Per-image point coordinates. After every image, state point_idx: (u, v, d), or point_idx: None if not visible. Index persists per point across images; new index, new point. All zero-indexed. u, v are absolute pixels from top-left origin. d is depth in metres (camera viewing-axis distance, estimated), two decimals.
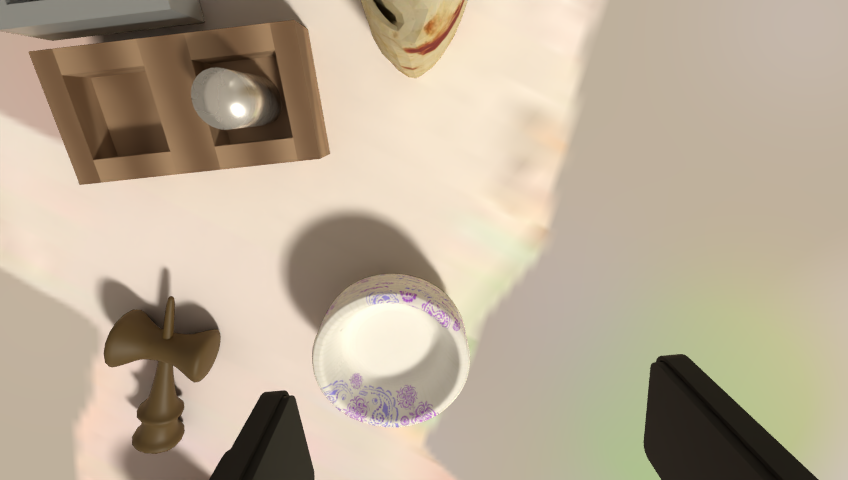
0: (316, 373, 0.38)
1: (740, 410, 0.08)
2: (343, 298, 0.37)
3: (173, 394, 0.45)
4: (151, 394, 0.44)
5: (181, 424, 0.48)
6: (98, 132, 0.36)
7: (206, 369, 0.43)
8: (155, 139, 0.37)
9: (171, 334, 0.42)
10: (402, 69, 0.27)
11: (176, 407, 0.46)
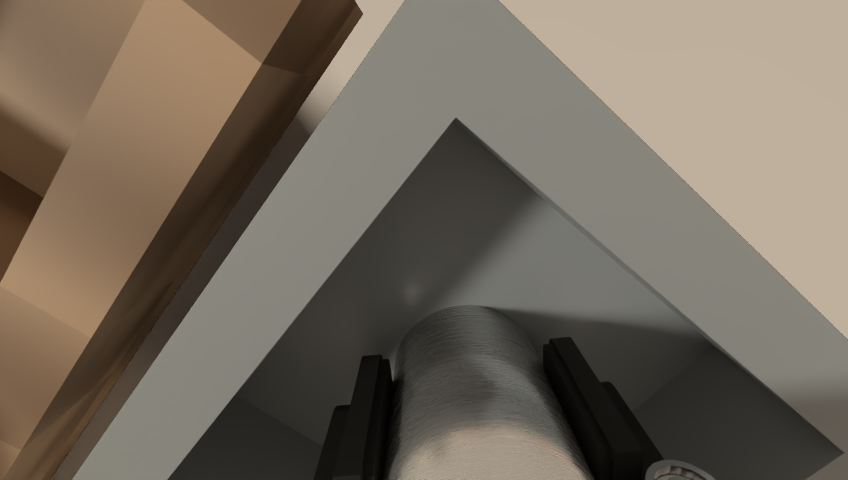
0: None
1: (597, 382, 0.09)
2: None
3: None
4: None
5: None
6: None
7: None
8: None
9: None
10: None
11: None
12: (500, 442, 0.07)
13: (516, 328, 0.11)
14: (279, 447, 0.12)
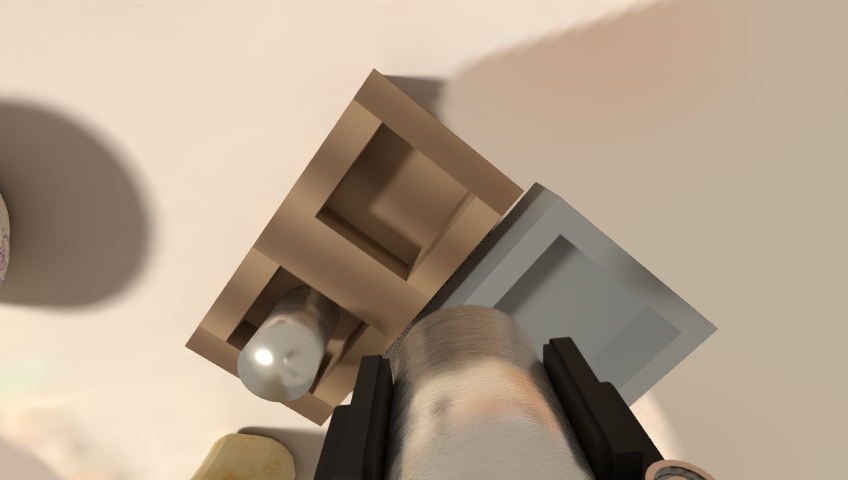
0: None
1: (598, 381, 0.09)
2: None
3: None
4: None
5: None
6: None
7: None
8: (363, 181, 0.26)
9: None
10: None
11: None
12: (502, 441, 0.07)
13: (517, 328, 0.11)
14: None
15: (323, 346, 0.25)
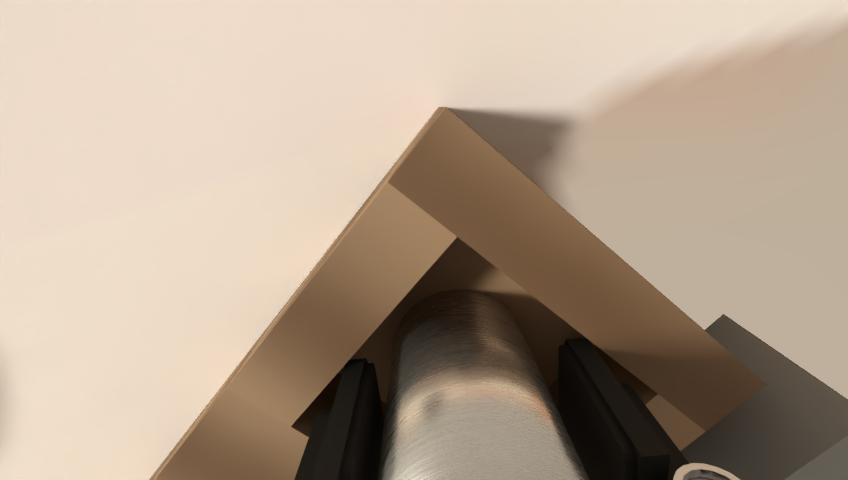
0: None
1: (618, 384, 0.09)
2: None
3: None
4: None
5: None
6: None
7: None
8: (395, 318, 0.13)
9: None
10: None
11: None
12: (485, 397, 0.08)
13: (504, 310, 0.12)
14: None
15: None
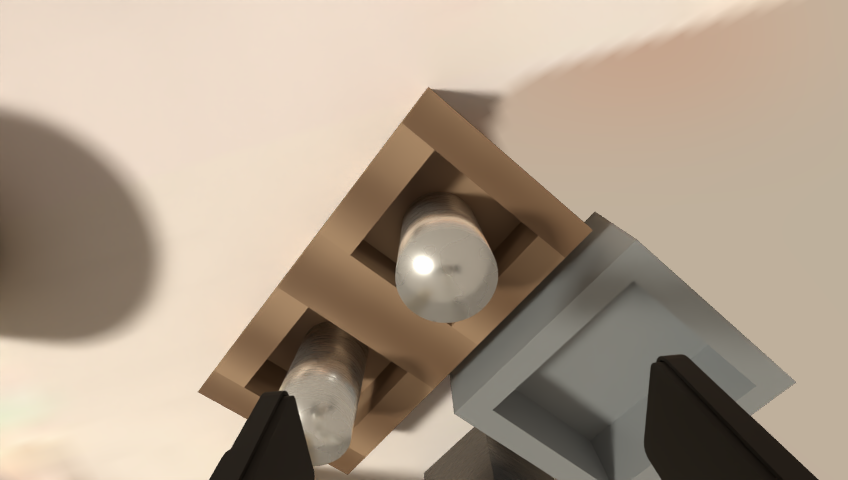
0: None
1: (739, 410, 0.08)
2: None
3: None
4: None
5: None
6: None
7: None
8: (402, 210, 0.23)
9: None
10: None
11: None
12: (446, 215, 0.18)
13: (464, 202, 0.22)
14: None
15: (357, 399, 0.22)
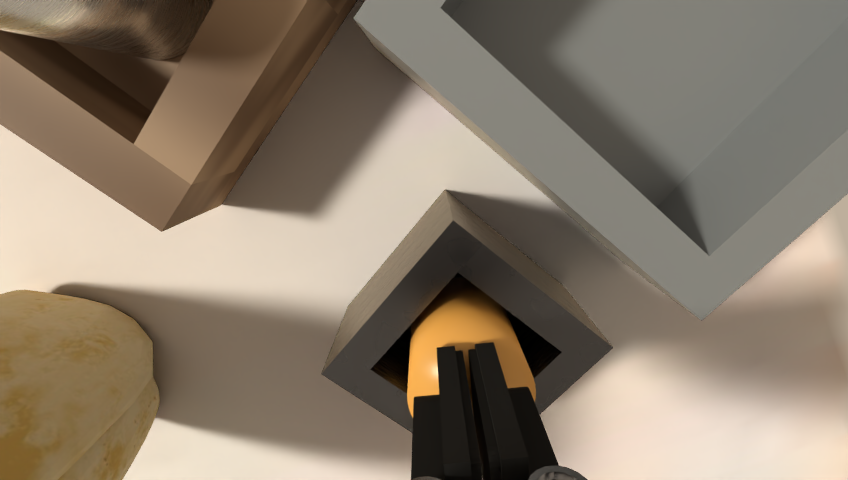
0: None
1: (506, 388, 0.09)
2: None
3: None
4: None
5: None
6: None
7: None
8: None
9: None
10: None
11: None
12: None
13: None
14: None
15: None
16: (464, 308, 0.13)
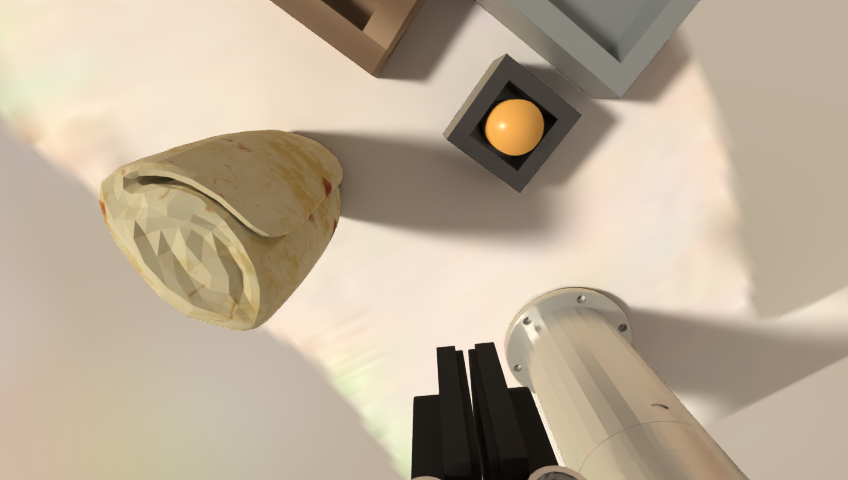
0: None
1: (506, 388, 0.09)
2: None
3: None
4: None
5: None
6: None
7: None
8: None
9: None
10: None
11: None
12: None
13: None
14: None
15: None
16: None
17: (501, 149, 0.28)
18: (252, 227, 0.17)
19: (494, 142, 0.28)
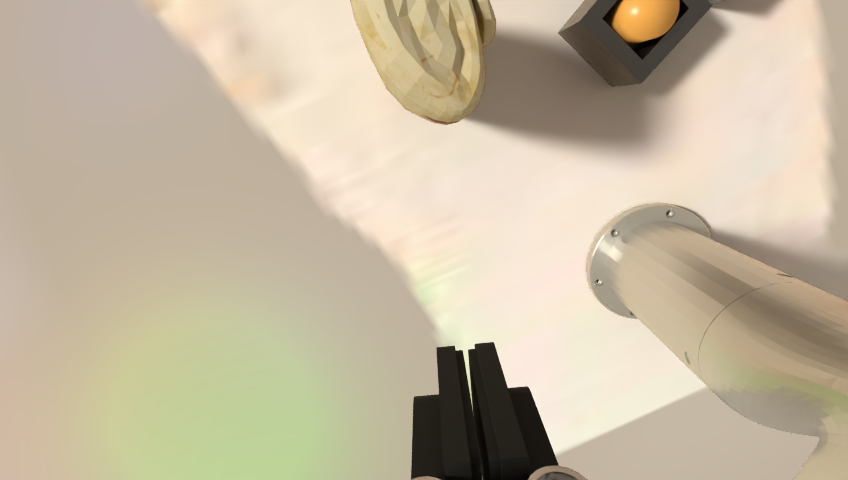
0: None
1: (506, 388, 0.09)
2: None
3: None
4: None
5: None
6: None
7: None
8: None
9: None
10: None
11: None
12: None
13: None
14: None
15: None
16: None
17: (634, 31, 0.29)
18: (483, 2, 0.17)
19: (629, 23, 0.29)
